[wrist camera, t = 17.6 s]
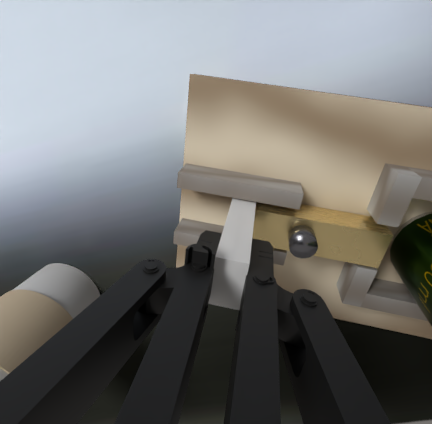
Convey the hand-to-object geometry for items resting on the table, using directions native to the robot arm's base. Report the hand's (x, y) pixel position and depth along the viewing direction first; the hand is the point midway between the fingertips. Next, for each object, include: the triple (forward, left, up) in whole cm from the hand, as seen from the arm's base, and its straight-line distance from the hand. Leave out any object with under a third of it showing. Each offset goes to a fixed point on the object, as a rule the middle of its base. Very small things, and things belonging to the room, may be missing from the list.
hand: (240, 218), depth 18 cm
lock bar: (0, +5, -1) cm, 5 cm away
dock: (0, +8, -3) cm, 8 cm away
